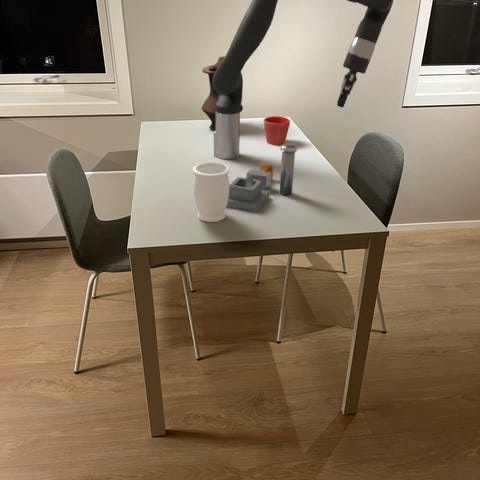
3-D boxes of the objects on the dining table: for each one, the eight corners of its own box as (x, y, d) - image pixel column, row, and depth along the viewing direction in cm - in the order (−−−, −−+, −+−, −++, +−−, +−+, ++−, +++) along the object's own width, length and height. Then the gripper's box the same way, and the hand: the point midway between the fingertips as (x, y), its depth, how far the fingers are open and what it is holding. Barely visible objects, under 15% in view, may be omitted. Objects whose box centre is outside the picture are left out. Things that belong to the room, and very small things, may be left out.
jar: (194, 208, 146) (192, 161, 139) (228, 208, 147) (228, 161, 140) (194, 225, 137) (192, 175, 129) (230, 224, 138) (230, 174, 130)
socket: (219, 205, 149) (219, 187, 146) (234, 191, 158) (234, 173, 155) (256, 212, 145) (256, 193, 142) (269, 197, 155) (270, 179, 152)
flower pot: (281, 148, 198) (282, 124, 193) (258, 143, 203) (259, 120, 198) (293, 141, 206) (294, 119, 201) (270, 137, 211) (271, 114, 206)
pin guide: (246, 187, 161) (246, 173, 158) (250, 183, 164) (250, 169, 161) (265, 191, 159) (266, 176, 156) (269, 187, 162) (270, 172, 159)
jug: (242, 135, 212) (243, 63, 197) (200, 134, 212) (198, 63, 197) (242, 122, 230) (244, 56, 216) (204, 121, 230) (203, 55, 216)
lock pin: (261, 176, 169) (261, 163, 167) (272, 178, 168) (273, 164, 165) (248, 189, 159) (248, 174, 157) (260, 191, 158) (261, 176, 155)
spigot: (276, 195, 156) (278, 147, 148) (280, 189, 160) (283, 142, 152) (290, 197, 154) (294, 149, 147) (295, 192, 159) (299, 145, 151)
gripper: (347, 51, 159) (329, 100, 165) (348, 50, 146) (328, 103, 152) (369, 59, 158) (350, 107, 165) (372, 59, 145) (351, 111, 151)
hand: (339, 105), depth 158 cm, fingers open, 8 cm apart
